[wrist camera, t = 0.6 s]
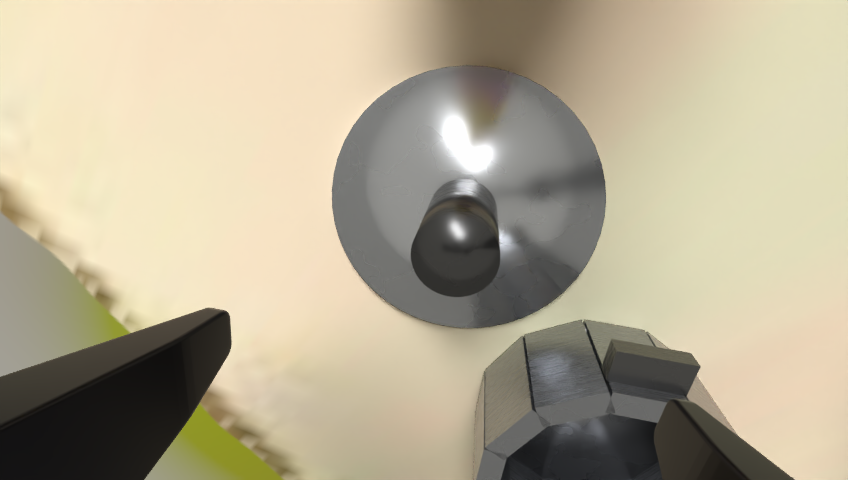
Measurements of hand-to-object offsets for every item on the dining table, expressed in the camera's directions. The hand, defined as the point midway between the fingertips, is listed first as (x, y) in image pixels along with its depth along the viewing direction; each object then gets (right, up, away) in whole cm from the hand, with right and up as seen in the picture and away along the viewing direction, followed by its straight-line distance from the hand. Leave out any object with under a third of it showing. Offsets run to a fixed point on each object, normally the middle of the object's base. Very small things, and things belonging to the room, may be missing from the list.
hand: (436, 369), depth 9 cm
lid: (+2, +4, +11) cm, 12 cm away
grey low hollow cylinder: (+8, -6, +14) cm, 17 cm away
